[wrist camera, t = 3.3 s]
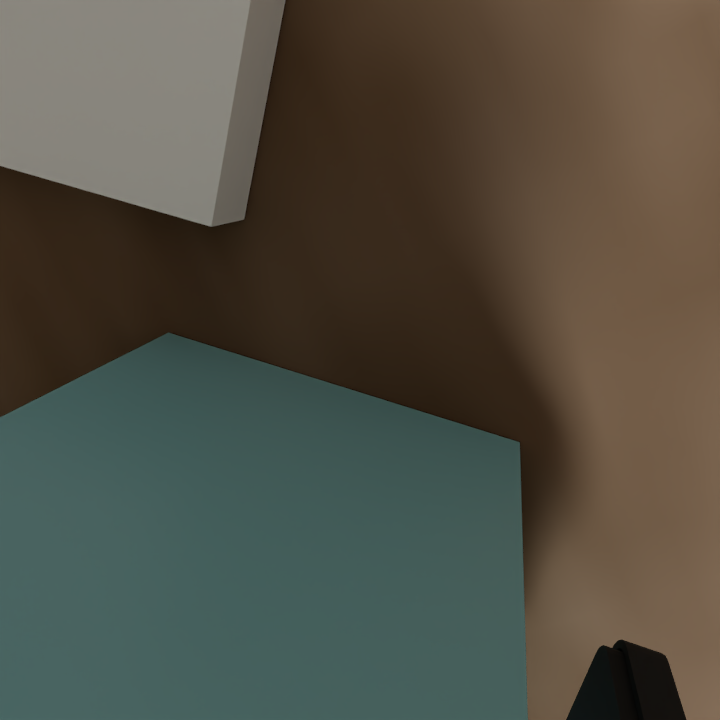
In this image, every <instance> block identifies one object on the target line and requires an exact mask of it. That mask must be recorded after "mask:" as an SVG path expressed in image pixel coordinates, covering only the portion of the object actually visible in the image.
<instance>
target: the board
mask: <svg viewBox="0 0 720 720" xmlns="http://www.w3.org/2000/svg"><path fill="white" fill-rule="evenodd" d="M284 5H285V0H0V166H2V167H6V168H9V169H13V170H16V171H20V172H23V173H27V174H30V175H34V176H37V177H41V178H44V179H47V180H51V181H54V182H58V183H61V184H65V185H68V186H72V187H75V188H79V189H82V190H85V191H89V192H92V193H96V194H99V195H103V196H106V197H110V198H113V199H117V200H120V201H124V202H127V203H130V204H134V205H137V206H141V207H144V208H148V209H151V210H155V211H158V212H162V213H165V214H169V215H172V216H175V217H179V218H182V219H186V220H189V221H193V222H196V223H200V224H203V225H207V226H210V227H213V226H217V225H222V224H226V223H231V222H235V221H240V220H244V218H245V212H246V207H247V202H248V196H249V191H250V186H251V181H252V175H253V170H254V165H255V159H256V154H257V149H258V143H259V138H260V133H261V127H262V122H263V117H264V112H265V106H266V101H267V96H268V90H269V85H270V80H271V74H272V69H273V64H274V58H275V53H276V48H277V43H278V37H279V32H280V27H281V21H282V16H283V11H284Z"/></svg>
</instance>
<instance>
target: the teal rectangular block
mask: <svg viewBox="0 0 720 720" xmlns="http://www.w3.org/2000/svg"><path fill="white" fill-rule="evenodd" d="M0 720H528V713H527V678H526V643H525V607H524V572H523V537H522V501H521V466H520V442H517V441H514V440H511V439H508V438H504V437H501V436H498V435H495V434H492V433H488V432H485V431H482V430H479V429H476V428H472V427H469V426H466V425H463V424H460V423H456V422H453V421H450V420H447V419H444V418H440V417H437V416H434V415H431V414H428V413H424V412H421V411H418V410H415V409H412V408H408V407H405V406H402V405H399V404H396V403H392V402H389V401H386V400H383V399H380V398H376V397H373V396H370V395H367V394H364V393H360V392H357V391H354V390H351V389H348V388H344V387H341V386H338V385H335V384H332V383H328V382H325V381H322V380H319V379H316V378H312V377H309V376H306V375H303V374H300V373H296V372H293V371H290V370H287V369H284V368H280V367H277V366H274V365H271V364H268V363H264V362H261V361H258V360H255V359H252V358H248V357H245V356H242V355H239V354H236V353H232V352H229V351H226V350H223V349H220V348H216V347H213V346H210V345H207V344H204V343H200V342H197V341H194V340H191V339H188V338H184V337H181V336H178V335H175V334H171V333H167V334H165V335H163V336H161V337H159V338H157V339H155V340H153V341H151V342H149V343H147V344H145V345H143V346H141V347H139V348H137V349H135V350H133V351H131V352H129V353H127V354H125V355H123V356H121V357H119V358H117V359H115V360H113V361H111V362H109V363H107V364H105V365H103V366H101V367H99V368H97V369H95V370H93V371H91V372H89V373H87V374H85V375H83V376H81V377H79V378H77V379H75V380H73V381H71V382H69V383H67V384H65V385H63V386H61V387H59V388H57V389H55V390H53V391H51V392H49V393H47V394H45V395H43V396H41V397H39V398H37V399H35V400H33V401H31V402H30V403H28V404H26V405H24V406H22V407H20V408H18V409H16V410H14V411H12V412H10V413H8V414H6V415H4V416H2V417H0Z"/></svg>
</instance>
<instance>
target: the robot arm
mask: <svg viewBox="0 0 720 720" xmlns="http://www.w3.org/2000/svg"><path fill="white" fill-rule="evenodd" d="M566 720H686V717H685V714H684V711H683V707H682V704H681V701H680V698H679V695H678V691H677V688H676V685H675V682H674V679H673V675H672V672H671V669H670V666H669V662H668V660H667V658H666V656H665V655H663V654H662V653H659V652H656V651H653V650H651V649H648V648H645V647H642V646H639V645H636V644H633V643H630V642H627V641H624V640H618V641H617V642H616V643H615V644H614V646H613V648H610V647H607V646H604V645H603V646H601V647H600V648H599V649H598V651H597V652H596V654H595V657H594V659H593V661H592V663H591V666H590V668H589V670H588V672H587V674H586V677H585V679H584V681H583V683H582V686H581V688H580V690H579V692H578V695H577V697H576V699H575V701H574V704H573V706H572V708H571V710H570V712H569V715H568V717H567V719H566Z"/></svg>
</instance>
